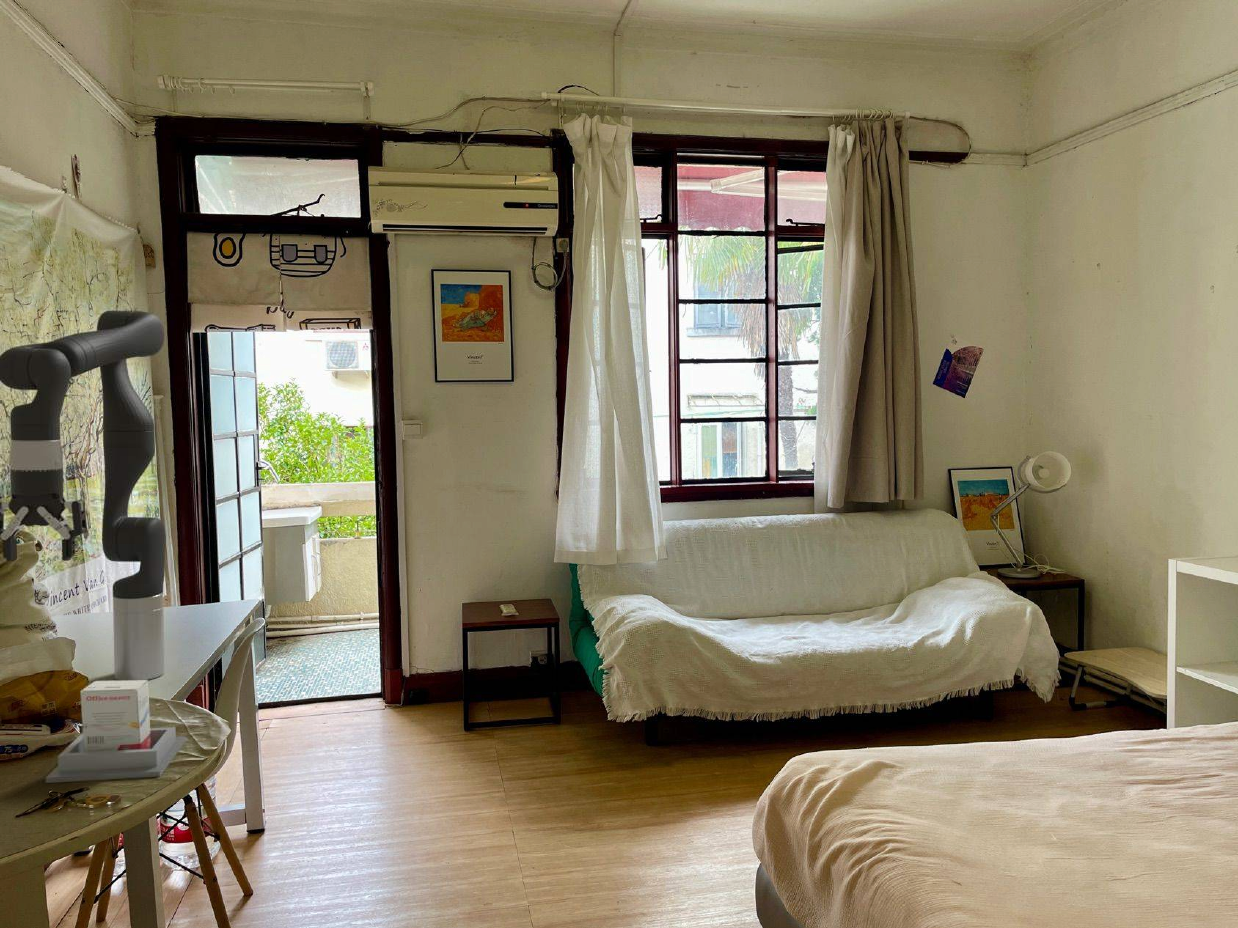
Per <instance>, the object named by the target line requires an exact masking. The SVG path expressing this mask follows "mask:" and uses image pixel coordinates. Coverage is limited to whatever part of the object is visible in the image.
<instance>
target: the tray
mask: <svg viewBox="0 0 1238 928" xmlns="http://www.w3.org/2000/svg"><path fill="white" fill-rule="evenodd" d="M150 738H151V748H150V749H139V750H119V751H100V752H84V746H83V732H82V733H81V734H80V735H78V737H76V739H75V740H73V741H72V742H71V743H70V744H69V745H68V746H67V747H66V748H65V749H64V750H63V751H62V752H61V753H60V754H58V756H57V764H58V765H57V766H56V767H55V768H54V769H53V770H52V771H51V772H50V773H49V774H48V775H47V776H46V777H45V783H46V784H49V783H51V784H52V783H65V782H66V783H67V782H69V783H70V782H81V781H82V782H86V781H103V780H104V781H105V780H118V779H120V780H121V779H122V780H123V779H139V778H155V777H161V776H162V774H163V773H164V772H165V770H166V768H168V766H169V765H170V763H171V762H172V761H173V759H174V758H175V757H176V755H177V754H178V752H179V751H180V750H181V748H182V747H183V746H184V744H186V741H187V740H186V736H177V731H176V726H172V727H153V728H152V727H150Z"/></svg>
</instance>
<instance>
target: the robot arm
mask: <svg viewBox="0 0 1238 928" xmlns="http://www.w3.org/2000/svg"><path fill="white" fill-rule="evenodd" d="M164 342H165V328H164V325H163V322H162V321H161V319H160V318H159V317H158V316H157V315H155V314H154V313H151V312H148V311H142V310H106V311H103V312H102V313H101V314H100V315H99V318H98V321H97V323H96V330H91V331H86V332H78V333H77V332H76V333H73V334H72V333H71V334H69V335H66V336H62V337H59V338H57V339H54V340H51V341H47V342H41V343H40V342H39V343H31V344H24V345H20V346H19V345H18V346H13V347H11V348H8V349H6V350H5V351H4V352H2V353H1V354H0V382H1V384H3V385H4V386H6V387H8V388H10V389H13V390H18V391H20V390H21V391H36V393H35V396H34V398H33V400H32V401H31V402H28V403H25V404H20V405H16V406H14V407H12V409H11V411H10V414H9V415H10V417H9V418H10V421H9V422H10V449H9V460H8V464H9V465H8V466H9V472H10V476H9V478H10V479H9V480H10V482H9V483H10V495H11V496H10V497H11V498H10V501H7V500H3V499H0V540H1V541H2V556H3V559H5V560H6V562H7V563H8V562H11V563H12V562H16V561H17V558H18V547H17V544H18V543H17V540H18V539H17V538H15V537H16V535H17V534H18V532H19V531H20V530H21V529H22V528H23V527H24V526H25V527H33V526H39V527H47V526H50V527H52V529H53V530H54V531H56V532H57V533H58V534H59V535H60V536H61V537H62V538H63V539H61V560H62V562H67V561H70V560H72V559H73V558H72V557H74V556H75V554H76V538H77V537H78V536H81V535H83V534H86V533H87V532H88V525H87V523H88V522H87V514H86V513H87V512H86V504H85V501H84V499H77V500H69V501H66V499H65V496H64V458H63V456H64V455H63V454H64V453H63V449H62V442H61V414H62V410H63V405H64V402H65V398H66V396H67V391H68V388H69V385H70V383H71V382H70V381H71V378H74V377H77V376H80V375H82V374H85V373H87V372H91V371H93V370H95V369H97V368H99V370H100V371H99V372H100V376H101V377H100V379H101V388H102V389H101V390H102V443H103V444H102V445H103V448H102V449H103V461H104V498H103V499H104V500H103V509H102V510H103V511H102V512H103V514H102V525H101V545H102V551H103V554H104V557H105V558H106V559H107V560H108V561H110V562H120V563H121V562H122V563H125V562H126V563H127V562H128V563H136V562H137V563H139V569H138V571H137V572H136V573H134V574H131V575H129V576H125V577H122V578H120V579H117V580H115V581H114V583H113V585H112V611H113V613H112V615H113V618H112V619H113V621H112V623H113V665H114V666H113V667H114V671H113V672H114V679H115V681H129V680H148V681H149V680H153V679H155V678H158V677H160V676H162V675H163V674H165V672H166V671H165V668H166V667H165V628H164V627H165V624H164V623H165V619H164V618H165V615H164V610H165V608H164V582H165V574H166V570H165V569H166V567H165V566H166V545H167V542H166V541H167V535H166V534H167V533H166V527H165V524H164V522H163V521H162V519H160V518H159V517H155V516H154V517H153V516H152V517H150V516H149V517H148V516H146V517H145V516H129V513H128V512H129V503H130V499H131V494H132V492H133V490H134V489H135V486H136V484H137V483H138V481H139V480H140V479H141V477H142V476H143V475H144V473H146V472H145V471H147V468H148V467H149V465H150V464H151V463H152V460H153V458H154V456H155V451H156V446H155V445H156V443H155V442H156V440H155V438H156V436H155V421H154V419H153V417H152V415H151V412H150V411H149V409H148V407H147V406H146V404H145V403H144V402H143V400H142V399H141V397H140V395H139V394H138V392H137V391H136V390H135V388H134V386H133V384H132V382H131V379H130V375H129V371H128V364H127V360H128V359H133V358H145V357H151V356H154V355H156V354H157V353H159V352H160V351H161V349H162V348H163V346H164ZM8 509H9V511H11V513H12V514H14V516H13V518H12V519H11V520H10V522H9V523H8V524H7V527H6V528H4V526H5V525H4V523H5V522H4V521H5V514H6V513H7V512H8ZM66 509H67V510H68V512H69V514H72V516H71V517H72V526H73V527H72V526H71V525H70V524H69V521H68V520H67V519H66V517H65V516H63V512H64V511H65V510H66Z"/></svg>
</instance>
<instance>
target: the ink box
mask: <svg viewBox="0 0 1238 928" xmlns="http://www.w3.org/2000/svg"><path fill="white" fill-rule="evenodd" d="M79 692H80V706H81V724H82V733H83V746H84V752H100V751H119V750H139V749H150V748H151V738H150V728H151V723H150V722H151V721H150V720H151V718H150V716H151V715H150V701H149V700H150V695H149V693H150V692H149V679H148V680H129V681H119V680H95V681H93V682H91V683H90V684H89V685H87V686H86V687H84V688H83V689H81V690H80V691H79Z"/></svg>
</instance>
